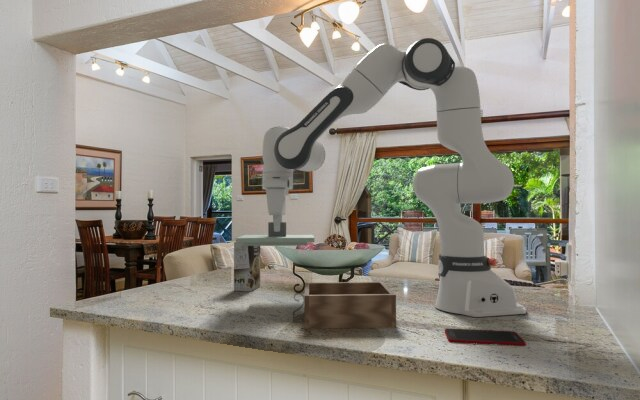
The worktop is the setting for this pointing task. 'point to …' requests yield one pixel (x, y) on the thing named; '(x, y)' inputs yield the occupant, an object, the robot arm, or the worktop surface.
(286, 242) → the lid
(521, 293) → the worktop surface
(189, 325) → the worktop surface
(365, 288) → the box
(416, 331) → the worktop surface
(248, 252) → the coffee box
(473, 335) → the cell phone
